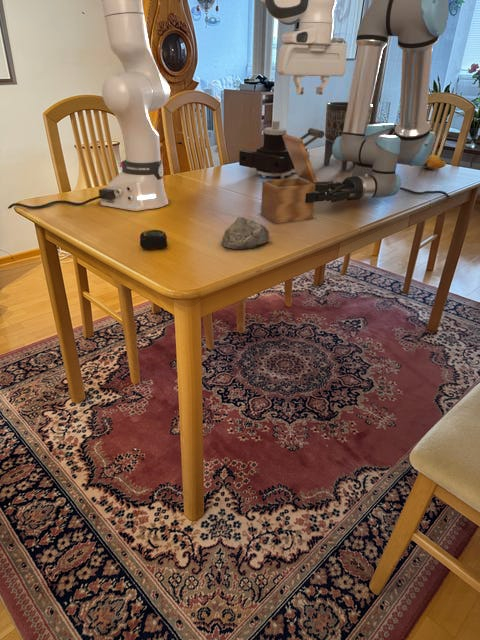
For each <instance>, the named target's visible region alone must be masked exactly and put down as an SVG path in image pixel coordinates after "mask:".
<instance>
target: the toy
mask: <svg viewBox="0 0 480 640" xmlns="http://www.w3.org/2000/svg"><path fill="white" fill-rule="evenodd" d="M446 166H447V162H446V161H444V160H442V159H441V158H440V156H439V155H435V154H430V156H429V158H428V159H427V161H426V162H425V164H424V165H422V166H421V167H425V168H427V169H429V170H432V171H433V170H434V171H435V170H438V169H443V168H444V167H446Z"/></svg>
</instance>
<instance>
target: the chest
mask: <svg viewBox="0 0 480 640" xmlns="http://www.w3.org/2000/svg"><path fill="white" fill-rule="evenodd" d="M314 192H315V184H313V183H311V182H310V181H308V180H305V179H303V178H301V177H291V178H290V177H289V178H279V179H270V180H269V179H266V180H262V185H261V207H260V215H261V216H263V217H264V218H266V219H267V220H269V221H270V222H272V223H274V224H282V223H288V222H295V221H303V220H312V219H313V214H314V213H313V211H314V205H315V204H314V203H315V202H309V203H306V202H305V199H306V193H314Z"/></svg>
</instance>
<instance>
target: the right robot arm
mask: <svg viewBox="0 0 480 640" xmlns="http://www.w3.org/2000/svg"><path fill="white" fill-rule="evenodd" d="M449 5H450V4H449V0H373V1H372V2H371V4H370V5H369V7H368V8H367V10H366V11H365V13H364V15H363V17H362V18H361V21H360V24H359V27H358V29H357V33H356V39H355V44H356V46H357V51H356V56H355V62H354V68H353V72H352V79H351V85H350V91H349V96H348V101H347V102H348V107H347V112H346V118H345V123H344V129H343V134H342V136H341V137H337V138H336V139H335V141H334V144H333V147H332V153H333V154H332V156H333V158H334V159H335V160H339V161H342V160H343V161H346V162H347V163H348V162H350V163H352V162H356V165H355V166H354V167H353V171H351V174H350V175H349V176H346V177H345V178H344V179H343V181H342V182H340V181H336V182H335V181H334V180H327V181H323V180H322V181H317V182H315V183H313V184H315V192H314V193H306V199H305V202H306V203H309V202H314V203H315V202H316V203H317V202H319V203H320V202H330V203H332V204H334V203H339V202H342V201H347V202H350V201H358V200H359V201H362V200H370V199H378V198H388V197H392V196H395V195H397V194H398V193H399V191H403V192H407V193H410V194H412V195H413V194H414V195H419V196H420V195H425V194H440V195H444V196H445V197H446V198H448V199H450V198H451V196H450V195H449V194H448V193H447V192H446V191H443V190H425V191H415V190H412V189H408V188H406V187H401V186H402V182H401V176H400V175H399V174H398V173H396V170H397V165H398V164H399V165H403V166H404V165H405V166H409V167H423V166H422V165H424V164H425V162H426V161H427V159H428V158H429V156H430V155H432V154H431V153H432V152H433V148H434V145H435V142H436V138H437V137H436V133H435V132H433V131H431V123H430V122H428V121H427V113H428V104H429V93H430V92H429V91H430V80H431V67H432V57H433V56H432V55H433V47H434V46H435V45H436V44H437V43H438V41H439V38H440V36H442V35H443V34H444V33H445V31H446V28H447V27H448V26H447V25H448V20H449V15H450V6H449ZM390 37H397V46H398V48H399V49H400V50H401V51H402V55H401V56H402V57H401V78H400V80H401V81H400V101H399V102H400V103H399V120H398V121H399V122H398V123H397V124H396V125H395V124H394V123H390V122H389V123H388V122H386V123H385V122H384V123H373V124H369V125H367V123H368V118H369V113H370V108H371V105H372V103H373V98H374V93H375V89H376V84H377V78H378V74H379V69H380V64H381V59H382V55H383V50H384V48H385V47H386V46H388V41H389V38H390ZM311 183H312V182H311Z"/></svg>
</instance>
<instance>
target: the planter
mask: <svg viewBox="0 0 480 640" xmlns="http://www.w3.org/2000/svg"><path fill="white" fill-rule="evenodd" d="M347 107H348V101H333V102H327V103H326V109H325V124H324V125H325V126H324V139H325V144H324V156H323V157H324V158H323V165H325V166H328V165H330V163H331V158H332V156H333V153H332V147H333V144H334V141H335V139H336V138H337V137H341V136H342V134H343V129H344V123H345V118H346V112H347ZM373 107H374V106H373V104H371V108H370V113H369V118H368V123H367V125H370V121H371V116H372V112H373ZM351 163H352V166H353V167H355V165H356V162H351ZM347 165H348V161H347V162H346V161H343V160H341V166H340V170H341V172H345V171H347V167H348V166H347Z"/></svg>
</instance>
